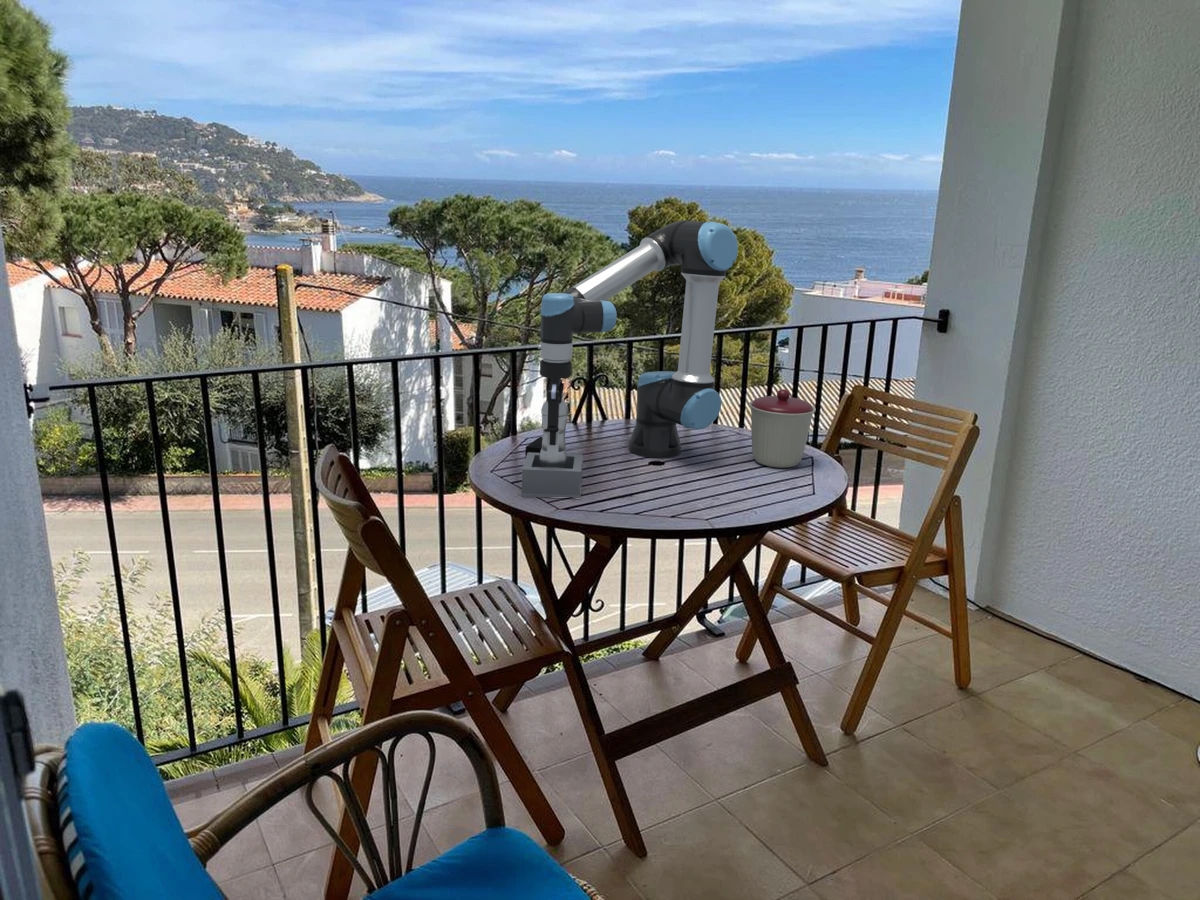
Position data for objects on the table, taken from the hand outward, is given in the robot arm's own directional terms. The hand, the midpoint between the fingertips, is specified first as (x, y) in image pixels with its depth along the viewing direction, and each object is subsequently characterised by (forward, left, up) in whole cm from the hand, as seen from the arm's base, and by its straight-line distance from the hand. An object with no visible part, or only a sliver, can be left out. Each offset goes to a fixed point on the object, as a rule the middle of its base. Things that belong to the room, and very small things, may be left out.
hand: (553, 452), depth 208 cm
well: (0, 0, -9) cm, 9 cm away
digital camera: (+4, -17, -10) cm, 20 cm away
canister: (-61, -30, -10) cm, 69 cm away
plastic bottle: (0, 0, -4) cm, 4 cm away
